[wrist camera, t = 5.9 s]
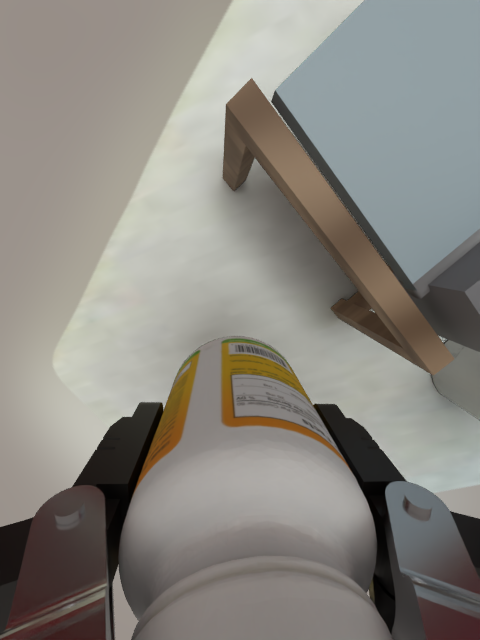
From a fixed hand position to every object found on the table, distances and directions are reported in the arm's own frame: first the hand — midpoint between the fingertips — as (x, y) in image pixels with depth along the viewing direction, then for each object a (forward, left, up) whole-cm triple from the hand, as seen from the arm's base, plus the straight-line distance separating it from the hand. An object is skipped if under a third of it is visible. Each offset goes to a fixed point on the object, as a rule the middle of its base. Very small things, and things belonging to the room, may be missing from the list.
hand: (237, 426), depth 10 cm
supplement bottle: (0, 0, -3) cm, 3 cm away
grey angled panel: (0, -16, -9) cm, 18 cm away
